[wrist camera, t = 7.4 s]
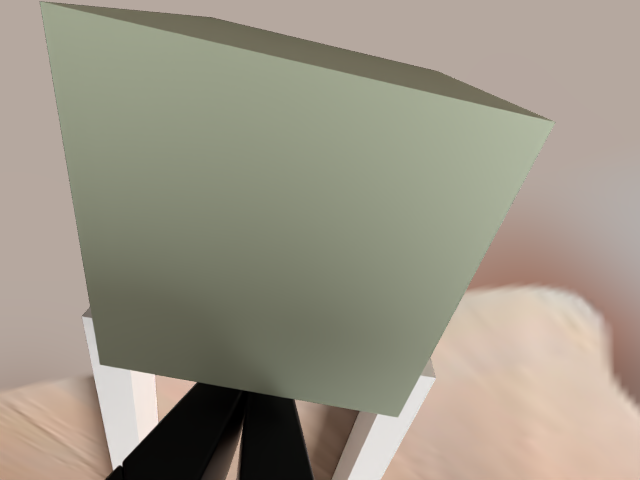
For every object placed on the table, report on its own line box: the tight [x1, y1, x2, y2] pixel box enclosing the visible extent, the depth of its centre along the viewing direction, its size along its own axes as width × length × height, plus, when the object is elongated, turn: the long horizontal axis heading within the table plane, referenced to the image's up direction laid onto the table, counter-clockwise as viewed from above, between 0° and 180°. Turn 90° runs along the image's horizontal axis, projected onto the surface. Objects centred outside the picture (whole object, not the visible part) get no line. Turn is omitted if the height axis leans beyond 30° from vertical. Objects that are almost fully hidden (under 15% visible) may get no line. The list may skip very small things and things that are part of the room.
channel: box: [82, 308, 436, 480], centre depth 16 cm, size 10×18×2 cm, turn 169°
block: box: [40, 1, 555, 417], centre depth 7 cm, size 5×5×5 cm
